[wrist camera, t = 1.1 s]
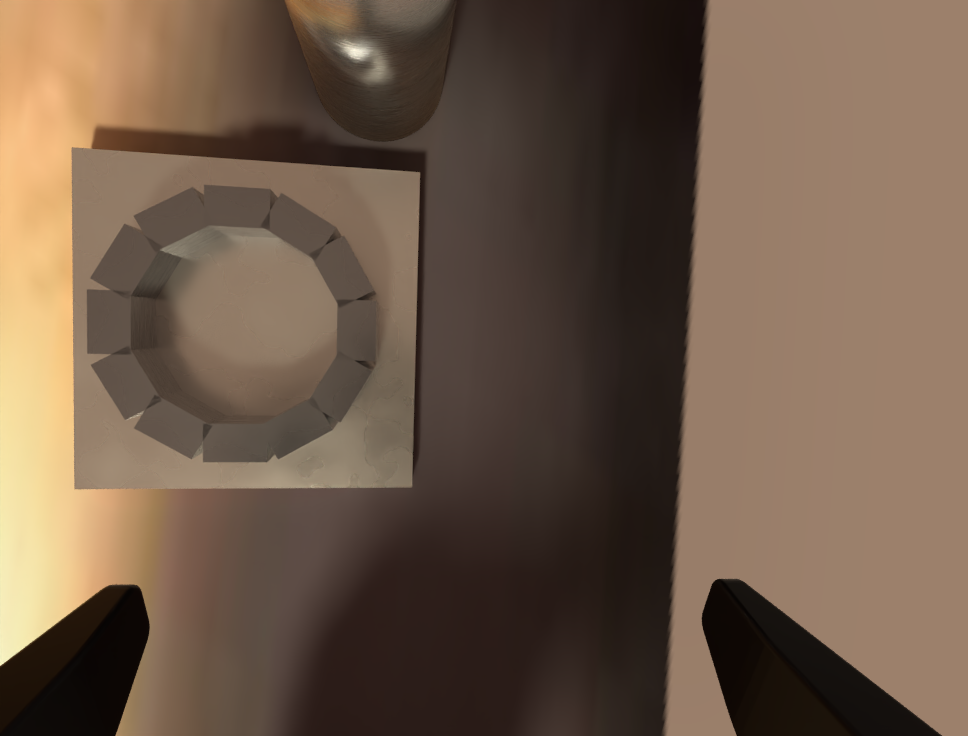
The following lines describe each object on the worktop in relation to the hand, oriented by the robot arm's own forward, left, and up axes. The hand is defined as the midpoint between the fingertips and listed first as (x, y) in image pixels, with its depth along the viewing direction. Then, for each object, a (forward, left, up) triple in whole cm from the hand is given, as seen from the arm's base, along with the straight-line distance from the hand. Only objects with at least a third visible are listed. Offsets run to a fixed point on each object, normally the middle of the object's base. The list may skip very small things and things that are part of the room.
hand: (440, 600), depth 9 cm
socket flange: (+4, +6, -12) cm, 14 cm away
